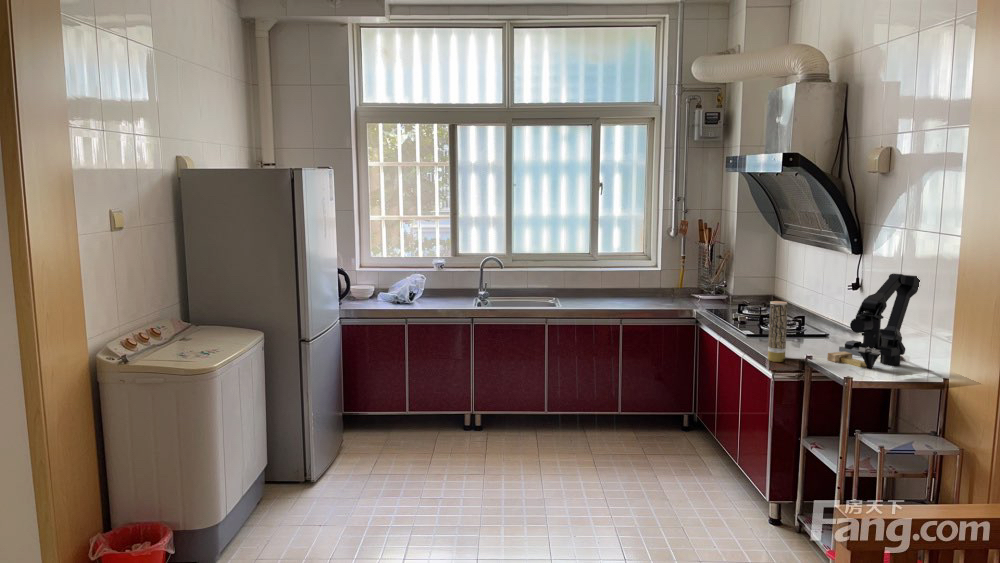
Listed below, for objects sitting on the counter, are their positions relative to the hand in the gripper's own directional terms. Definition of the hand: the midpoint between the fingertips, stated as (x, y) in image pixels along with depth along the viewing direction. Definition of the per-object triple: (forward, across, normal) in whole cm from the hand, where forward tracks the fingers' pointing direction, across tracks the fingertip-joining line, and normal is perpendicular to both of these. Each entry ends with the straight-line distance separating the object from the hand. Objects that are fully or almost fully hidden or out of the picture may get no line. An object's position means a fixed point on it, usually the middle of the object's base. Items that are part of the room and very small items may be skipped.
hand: (869, 369), depth 273 cm
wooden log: (+1, +33, +13) cm, 35 cm away
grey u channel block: (+1, +19, -24) cm, 31 cm away
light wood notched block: (+1, +15, -3) cm, 15 cm away
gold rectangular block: (0, +9, -2) cm, 9 cm away
